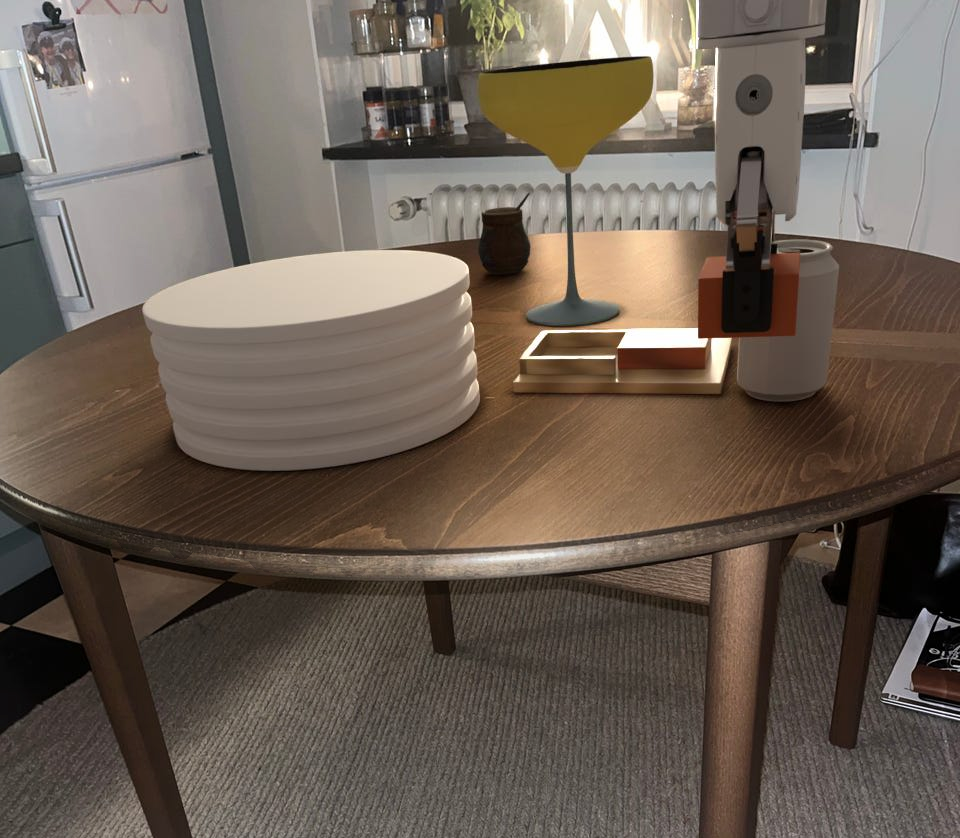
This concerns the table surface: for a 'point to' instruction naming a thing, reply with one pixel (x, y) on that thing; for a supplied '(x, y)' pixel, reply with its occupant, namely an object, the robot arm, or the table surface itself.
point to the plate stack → (316, 358)
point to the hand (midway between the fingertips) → (748, 314)
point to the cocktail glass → (567, 136)
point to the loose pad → (781, 300)
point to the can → (804, 357)
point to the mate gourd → (504, 240)
